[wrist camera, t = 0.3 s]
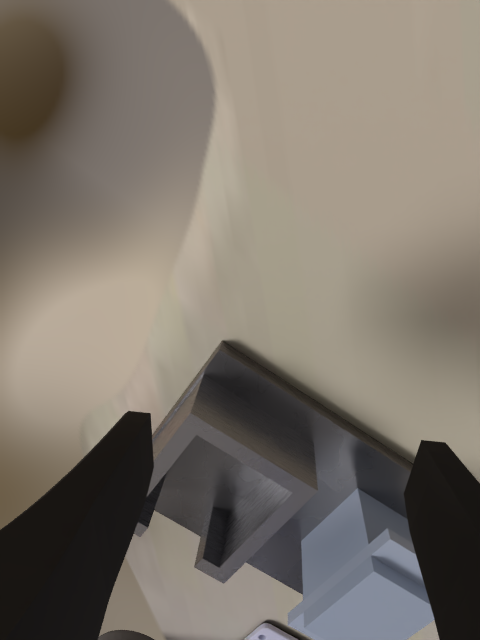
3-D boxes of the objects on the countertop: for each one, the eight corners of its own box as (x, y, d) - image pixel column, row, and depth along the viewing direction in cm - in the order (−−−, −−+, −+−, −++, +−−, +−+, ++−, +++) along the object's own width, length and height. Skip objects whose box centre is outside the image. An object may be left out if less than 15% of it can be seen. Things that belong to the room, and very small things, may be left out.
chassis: (324, 592, 29) (330, 667, 25) (121, 475, 27) (92, 537, 23) (449, 487, 25) (480, 556, 21) (222, 340, 23) (208, 385, 19)
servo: (338, 587, 27) (349, 680, 23) (284, 556, 27) (284, 644, 22) (432, 510, 24) (465, 597, 20) (373, 473, 24) (394, 554, 19)
